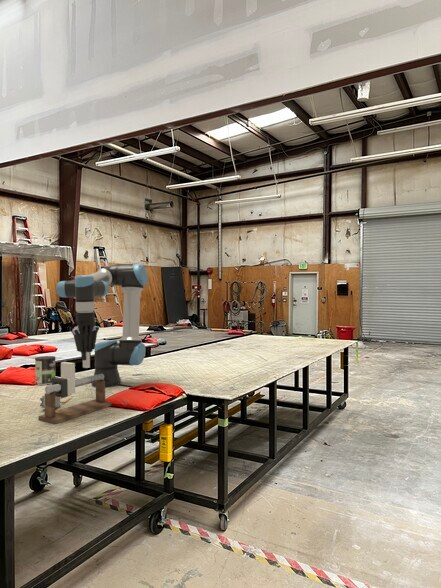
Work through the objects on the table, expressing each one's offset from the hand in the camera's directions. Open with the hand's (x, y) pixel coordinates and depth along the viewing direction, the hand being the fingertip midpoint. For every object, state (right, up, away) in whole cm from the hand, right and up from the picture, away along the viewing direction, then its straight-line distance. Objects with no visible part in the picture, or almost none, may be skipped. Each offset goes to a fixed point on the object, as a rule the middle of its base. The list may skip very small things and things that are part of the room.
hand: (86, 367), depth 170 cm
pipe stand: (-2, -18, -6) cm, 18 cm away
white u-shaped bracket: (-5, -9, -10) cm, 14 cm away
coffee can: (-39, -18, +49) cm, 65 cm away
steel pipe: (-2, -7, -6) cm, 9 cm away
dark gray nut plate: (-6, -9, -12) cm, 17 cm away
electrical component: (-15, -18, +9) cm, 25 cm away
